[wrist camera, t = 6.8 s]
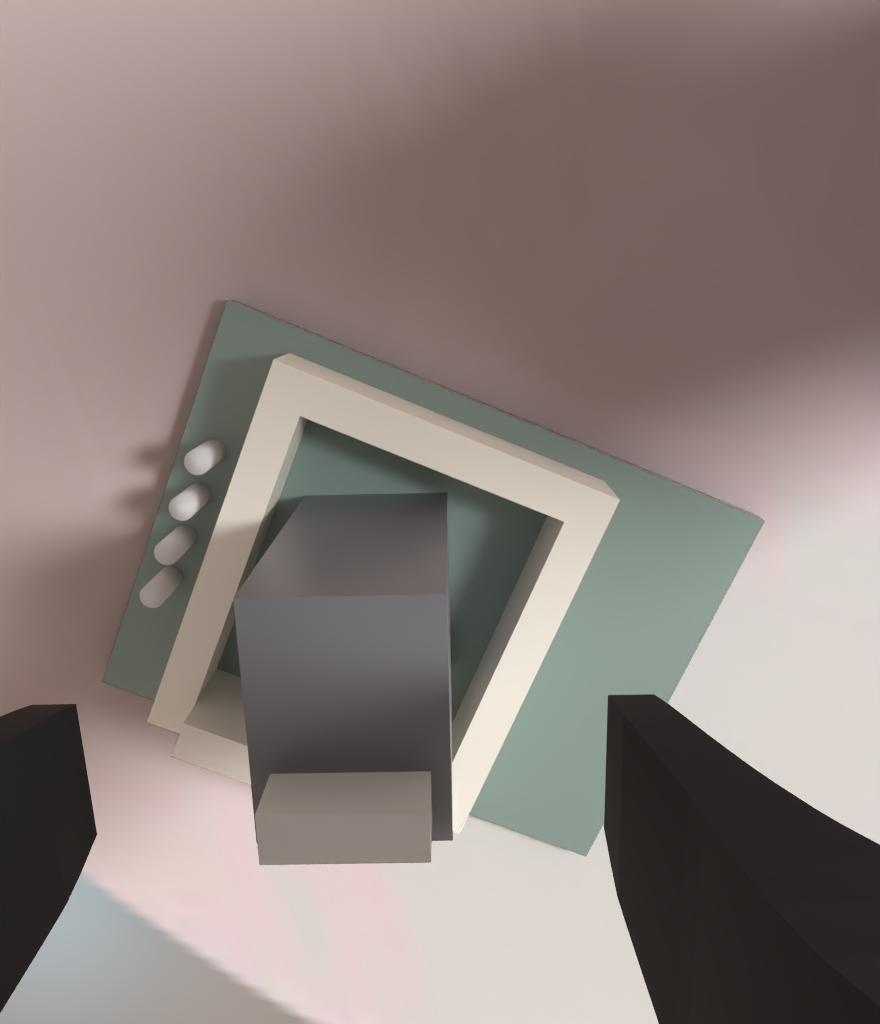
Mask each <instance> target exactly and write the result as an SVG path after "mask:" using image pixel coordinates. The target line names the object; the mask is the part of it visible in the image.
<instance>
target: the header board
mask: <svg viewBox="0 0 880 1024" xmlns="http://www.w3.org/2000/svg"><path fill="white" fill-rule="evenodd" d="M445 492H447V498H448V542H449V585H450V629H451V685H452V821H453V832H454V833H457V834H460V832H461V830H462V828H463V826H464V824H465V822H466V820H467V818H468V815H469V814H470V815H472V816H475V817H478V818H481V819H483V820H486V821H489V822H492V823H494V824H497V825H500V826H503V827H506V828H508V829H511V830H514V831H517V832H519V833H522V834H525V835H528V836H530V837H533V838H536V839H539V840H542V841H544V842H547V843H550V844H553V845H555V846H558V847H561V848H564V849H566V850H569V851H572V852H575V853H577V854H580V855H583V856H587V854H588V852H589V850H590V848H591V846H592V844H593V843H594V841H595V839H596V837H597V835H598V833H599V831H600V829H601V827H602V826H603V824H604V813H605V778H606V744H607V709H608V695H641V694H654V695H656V696H657V697H659V698H660V699H662V700H663V701H665V702H666V703H667V704H668V702H669V700H670V698H671V696H672V694H673V692H674V690H675V689H676V687H677V685H678V683H679V681H680V679H681V677H682V675H683V673H684V672H685V670H686V668H687V666H688V664H689V662H690V660H691V658H692V657H693V655H694V653H695V651H696V649H697V647H698V645H699V643H700V642H701V640H702V638H703V636H704V634H705V632H706V630H707V628H708V627H709V625H710V623H711V621H712V619H713V617H714V615H715V613H716V612H717V610H718V608H719V606H720V604H721V602H722V600H723V598H724V596H725V595H726V593H727V591H728V589H729V587H730V585H731V583H732V581H733V580H734V578H735V576H736V574H737V572H738V570H739V568H740V566H741V565H742V563H743V561H744V559H745V557H746V555H747V553H748V551H749V550H750V548H751V546H752V544H753V542H754V540H755V538H756V536H757V535H758V533H759V531H760V529H761V527H762V525H763V523H764V520H763V519H761V518H760V517H759V516H757V515H754V514H752V513H749V512H747V511H745V510H742V509H740V508H737V507H735V506H732V505H730V504H727V503H725V502H723V501H720V500H718V499H715V498H713V497H710V496H708V495H706V494H703V493H701V492H698V491H696V490H693V489H691V488H688V487H686V486H684V485H681V484H679V483H676V482H674V481H671V480H669V479H667V478H664V477H662V476H659V475H657V474H654V473H652V472H650V471H647V470H645V469H642V468H640V467H637V466H635V465H632V464H630V463H628V462H625V461H623V460H620V459H618V458H615V457H613V456H611V455H608V454H606V453H603V452H601V451H598V450H596V449H594V448H591V447H589V446H586V445H584V444H581V443H579V442H576V441H574V440H572V439H569V438H567V437H564V436H562V435H559V434H557V433H555V432H552V431H550V430H547V429H545V428H542V427H540V426H537V425H535V424H533V423H530V422H528V421H525V420H523V419H520V418H518V417H516V416H513V415H511V414H508V413H506V412H503V411H501V410H499V409H496V408H494V407H491V406H489V405H486V404H484V403H481V402H479V401H477V400H474V399H472V398H469V397H467V396H464V395H462V394H460V393H457V392H455V391H452V390H450V389H447V388H445V387H442V386H440V385H438V384H435V383H433V382H430V381H428V380H425V379H423V378H421V377H418V376H416V375H413V374H411V373H408V372H406V371H404V370H401V369H399V368H396V367H394V366H391V365H389V364H386V363H384V362H382V361H379V360H377V359H374V358H372V357H369V356H367V355H365V354H362V353H360V352H357V351H355V350H352V349H350V348H347V347H345V346H343V345H340V344H338V343H335V342H333V341H330V340H328V339H326V338H323V337H321V336H318V335H316V334H313V333H311V332H309V331H306V330H304V329H301V328H299V327H296V326H294V325H291V324H289V323H287V322H284V321H282V320H279V319H277V318H274V317H272V316H270V315H267V314H265V313H262V312H260V311H257V310H255V309H253V308H250V307H248V306H245V305H243V304H240V303H238V302H235V301H233V300H227V302H226V305H225V308H224V311H223V314H222V317H221V320H220V323H219V326H218V329H217V333H216V336H215V339H214V342H213V345H212V348H211V351H210V354H209V357H208V360H207V363H206V366H205V369H204V372H203V375H202V378H201V381H200V384H199V387H198V391H197V394H196V397H195V400H194V403H193V406H192V409H191V412H190V415H189V418H188V421H187V424H186V427H185V430H184V433H183V436H182V439H181V442H180V446H179V449H178V452H177V455H176V458H175V461H174V464H173V467H172V470H171V473H170V476H169V479H168V482H167V485H166V488H165V491H164V494H163V497H162V501H161V504H160V507H159V510H158V513H157V516H156V519H155V522H154V525H153V528H152V531H151V534H150V537H149V540H148V543H147V546H146V549H145V552H144V556H143V559H142V562H141V565H140V568H139V571H138V574H137V577H136V580H135V583H134V586H133V589H132V592H131V595H130V598H129V601H128V604H127V607H126V610H125V614H124V617H123V620H122V623H121V626H120V629H119V632H118V635H117V638H116V641H115V644H114V647H113V650H112V653H111V656H110V659H109V662H108V665H107V669H106V672H105V675H104V678H103V681H102V682H104V683H107V684H110V685H113V686H115V687H118V688H121V689H124V690H126V691H129V692H132V693H135V694H137V695H140V696H143V697H146V698H149V699H151V700H154V703H153V706H152V709H151V712H150V715H149V718H148V721H147V722H148V723H151V724H153V725H156V726H159V727H162V728H164V729H167V730H170V731H173V732H176V733H178V734H179V736H178V739H177V742H176V745H175V748H174V750H173V753H172V756H171V757H174V758H177V759H179V760H182V761H185V762H188V763H191V764H193V765H196V766H199V767H202V768H205V769H208V770H210V771H213V772H216V773H219V774H222V775H224V776H227V777H230V778H233V779H236V780H238V781H241V782H244V783H247V784H250V785H251V778H250V767H249V757H248V747H247V736H246V726H245V716H244V705H243V695H242V685H241V674H240V664H239V653H238V643H237V633H236V622H235V612H234V602H233V598H234V596H235V595H236V594H237V592H238V591H239V589H240V588H241V586H242V585H243V584H244V582H245V581H246V579H247V578H248V577H249V575H250V574H251V572H252V571H253V569H254V568H255V567H256V565H257V564H258V562H259V561H260V559H261V558H262V557H263V555H264V554H265V552H266V551H267V550H268V548H269V547H270V545H271V544H272V542H273V541H274V540H275V538H276V537H277V535H278V534H279V532H280V531H281V530H282V528H283V527H284V525H285V524H286V522H287V521H288V520H289V518H290V517H291V515H292V514H293V513H294V511H295V510H296V508H297V507H298V505H299V504H300V503H301V501H302V500H303V498H304V497H305V496H306V495H352V494H398V493H445Z"/></svg>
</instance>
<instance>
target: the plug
mask: <svg viewBox="0 0 880 1024" xmlns="http://www.w3.org/2000/svg"><path fill="white" fill-rule="evenodd" d="M233 602H234V612H235V622H236V633H237V643H238V653H239V664H240V674H241V685H242V695H243V705H244V716H245V726H246V736H247V747H248V757H249V767H250V778H251V788H252V799H253V809H254V819H255V830H256V840H257V843H258V854H259V864H260V865H288V864H358V863H428V862H431V843H432V841H444V840H453V821H452V685H451V629H450V585H449V542H448V498H447V492H445V493H398V494H352V495H306V496H305V497H304V498H303V500H302V501H301V503H300V504H299V505H298V507H297V508H296V510H295V511H294V513H293V514H292V515H291V517H290V518H289V520H288V521H287V522H286V524H285V525H284V527H283V528H282V530H281V531H280V532H279V534H278V535H277V537H276V538H275V540H274V541H273V542H272V544H271V545H270V547H269V548H268V550H267V551H266V552H265V554H264V555H263V557H262V558H261V559H260V561H259V562H258V564H257V565H256V567H255V568H254V569H253V571H252V572H251V574H250V575H249V577H248V578H247V579H246V581H245V582H244V584H243V585H242V586H241V588H240V589H239V591H238V592H237V594H236V595H235V596H234V598H233Z"/></svg>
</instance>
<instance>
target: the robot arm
mask: <svg viewBox="0 0 880 1024" xmlns="http://www.w3.org/2000/svg"><path fill="white" fill-rule="evenodd" d="M604 830H605V835H606V841H607V846H608V851H609V857H610V862H611V867H612V872H613V877H614V882H615V887H616V891H617V896H618V900H619V903H620V906H621V909H622V912H623V916H624V919H625V922H626V925H627V928H628V931H629V934H630V937H631V940H632V943H633V946H634V949H635V953H636V956H637V959H638V962H639V965H640V968H641V971H642V974H643V977H644V980H645V983H646V986H647V989H648V992H649V995H650V998H651V1001H652V1004H653V1007H654V1010H655V1013H656V1016H657V1019H658V1022H659V1024H880V845H879V844H877V843H875V842H873V841H872V840H870V839H868V838H866V837H864V836H862V835H860V834H859V833H857V832H855V831H853V830H851V829H849V828H847V827H846V826H844V825H842V824H840V823H838V822H837V821H835V820H833V819H832V818H830V817H828V816H826V815H825V814H823V813H821V812H820V811H818V810H816V809H815V808H813V807H812V806H810V805H809V804H807V803H805V802H804V801H802V800H801V799H799V798H798V797H796V796H794V795H793V794H791V793H790V792H788V791H787V790H785V789H784V788H782V787H780V786H779V785H777V784H776V783H774V782H773V781H771V780H770V779H768V778H767V777H766V776H764V775H763V774H761V773H760V772H758V771H757V770H755V769H754V768H753V767H751V766H750V765H748V764H747V763H746V762H744V761H743V760H741V759H740V758H739V757H737V756H736V755H735V754H733V753H732V752H730V751H729V750H728V749H726V748H725V747H724V746H722V745H721V744H720V743H718V742H717V741H716V740H714V739H713V738H712V737H710V736H709V735H708V734H706V733H705V732H704V731H703V730H701V729H700V728H699V727H697V726H696V725H695V724H693V723H692V722H691V721H690V720H688V719H687V718H686V717H684V716H683V715H682V714H681V713H679V712H678V711H677V710H675V709H674V708H673V707H671V706H670V705H669V704H667V703H666V702H665V701H663V700H662V699H660V698H659V697H657V696H656V695H654V694H641V695H608V709H607V744H606V778H605V813H604ZM96 835H97V832H96V826H95V819H94V813H93V807H92V801H91V795H90V788H89V782H88V776H87V770H86V764H85V757H84V751H83V745H82V739H81V733H80V726H79V720H78V714H77V708H76V704H59V705H30V706H27V707H24V708H22V709H19V710H16V711H13V712H11V713H8V714H6V715H3V716H1V717H0V1012H1V1011H2V1009H3V1008H4V1006H5V1004H6V1003H7V1001H8V999H9V998H10V996H11V994H12V993H13V991H14V990H15V988H16V986H17V985H18V983H19V982H20V980H21V978H22V977H23V975H24V974H25V972H26V970H27V969H28V967H29V965H30V964H31V962H32V960H33V959H34V957H35V956H36V954H37V952H38V951H39V949H40V947H41V946H42V944H43V942H44V941H45V939H46V937H47V936H48V934H49V932H50V931H51V929H52V928H53V926H54V924H55V922H56V921H57V919H58V917H59V916H60V914H61V912H62V910H63V909H64V907H65V905H66V904H67V902H68V900H69V897H70V895H71V893H72V891H73V889H74V886H75V884H76V882H77V880H78V878H79V876H80V874H81V871H82V869H83V867H84V864H85V862H86V859H87V857H88V855H89V852H90V850H91V847H92V845H93V843H94V840H95V838H96Z"/></svg>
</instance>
